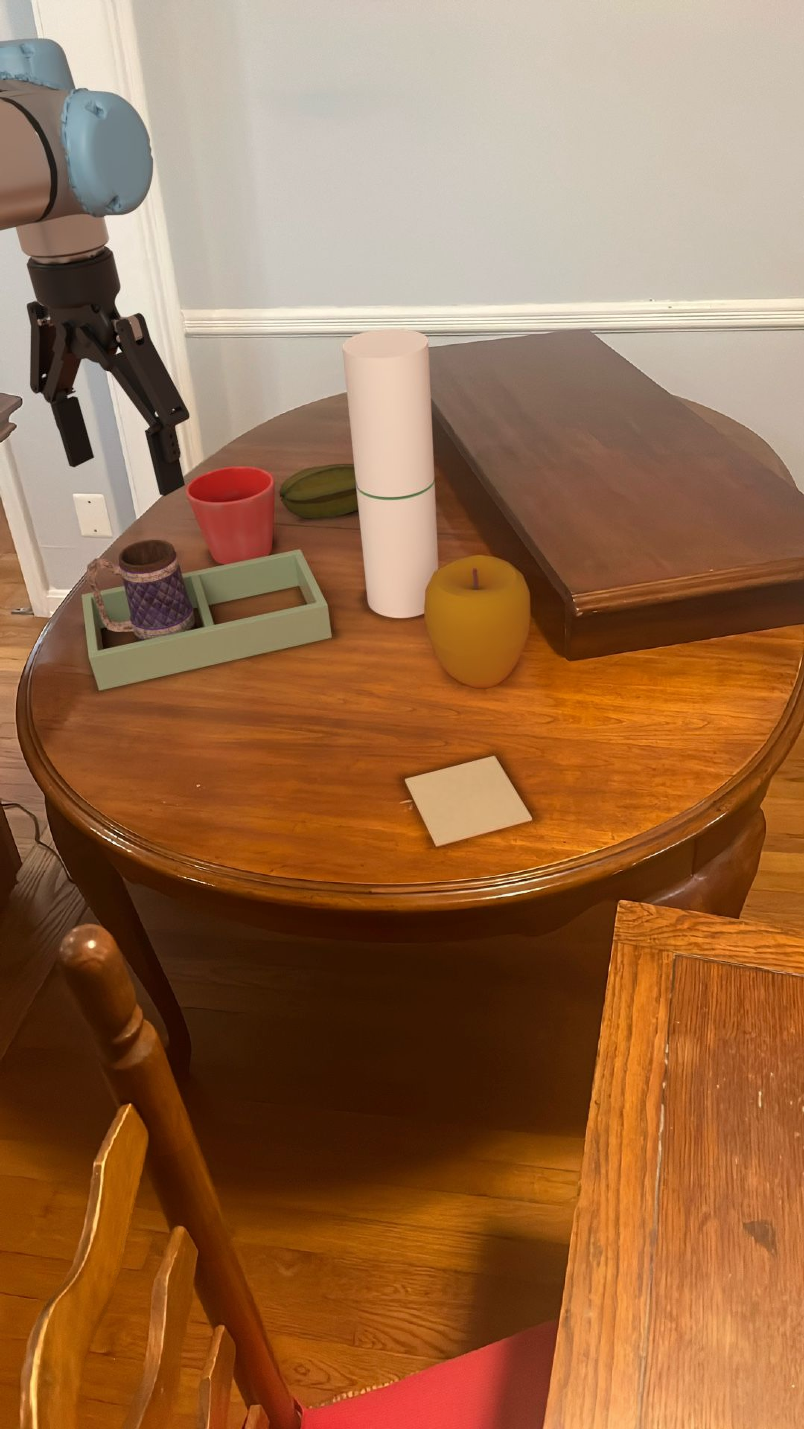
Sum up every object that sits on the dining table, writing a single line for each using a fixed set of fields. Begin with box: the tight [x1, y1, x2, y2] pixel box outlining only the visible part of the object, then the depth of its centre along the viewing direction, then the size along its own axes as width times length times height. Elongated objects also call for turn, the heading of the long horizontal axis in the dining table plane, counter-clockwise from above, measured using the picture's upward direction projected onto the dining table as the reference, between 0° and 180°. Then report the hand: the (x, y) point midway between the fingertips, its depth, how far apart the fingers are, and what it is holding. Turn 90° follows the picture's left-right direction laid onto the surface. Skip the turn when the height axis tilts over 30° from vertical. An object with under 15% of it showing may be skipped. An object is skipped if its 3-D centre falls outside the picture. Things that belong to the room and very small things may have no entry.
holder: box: [81, 548, 333, 691], centre depth 113 cm, size 26×14×4 cm, turn 107°
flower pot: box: [185, 466, 276, 565], centre depth 126 cm, size 11×11×10 cm
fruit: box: [278, 463, 359, 520], centre depth 134 cm, size 11×12×7 cm
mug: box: [85, 539, 198, 642], centre depth 110 cm, size 10×7×12 cm
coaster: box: [404, 755, 533, 848], centre depth 90 cm, size 9×9×1 cm
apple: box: [423, 554, 531, 689], centre depth 102 cm, size 11×11×13 cm
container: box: [342, 328, 439, 619], centre depth 108 cm, size 9×9×30 cm
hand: (125, 475), depth 101 cm, fingers open, 13 cm apart
